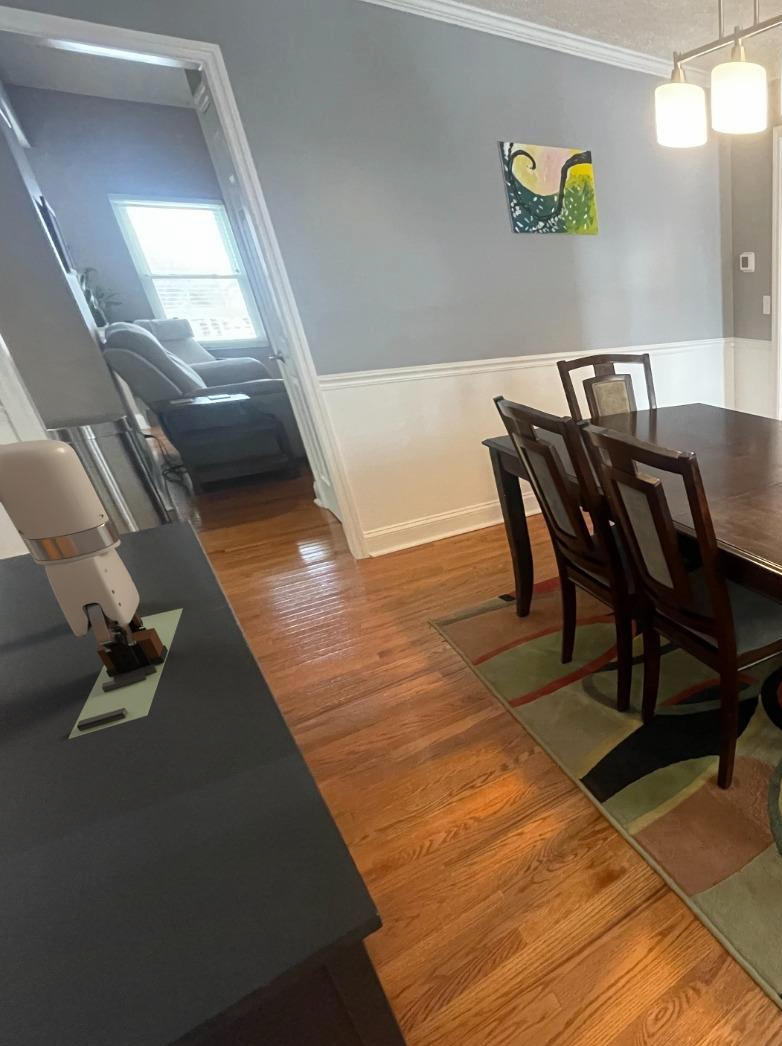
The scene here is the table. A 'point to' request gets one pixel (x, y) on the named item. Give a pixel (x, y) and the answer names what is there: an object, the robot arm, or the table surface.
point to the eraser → (149, 643)
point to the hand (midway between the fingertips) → (138, 662)
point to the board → (135, 694)
